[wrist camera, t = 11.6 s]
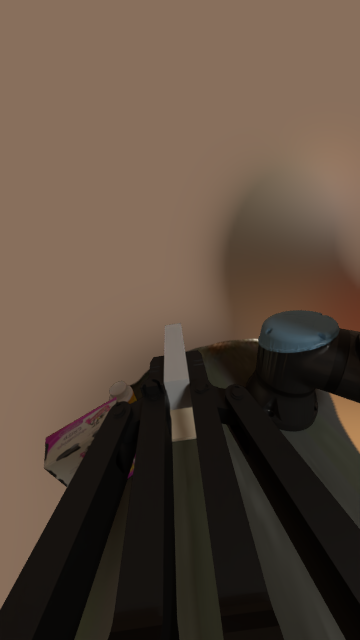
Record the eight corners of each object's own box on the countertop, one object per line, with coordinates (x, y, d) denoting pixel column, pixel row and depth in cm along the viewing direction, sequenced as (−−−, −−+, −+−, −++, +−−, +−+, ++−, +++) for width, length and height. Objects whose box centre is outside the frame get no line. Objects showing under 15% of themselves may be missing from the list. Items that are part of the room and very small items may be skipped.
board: (205, 372, 53) (205, 370, 53) (221, 434, 37) (221, 432, 37) (154, 380, 53) (154, 378, 53) (149, 444, 37) (148, 442, 37)
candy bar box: (139, 441, 38) (117, 394, 30) (148, 463, 34) (125, 415, 26) (87, 480, 33) (43, 436, 25) (91, 510, 30) (41, 470, 22)
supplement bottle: (143, 404, 46) (133, 378, 41) (136, 425, 42) (124, 398, 37) (124, 403, 47) (112, 378, 42) (115, 424, 43) (100, 398, 38)
